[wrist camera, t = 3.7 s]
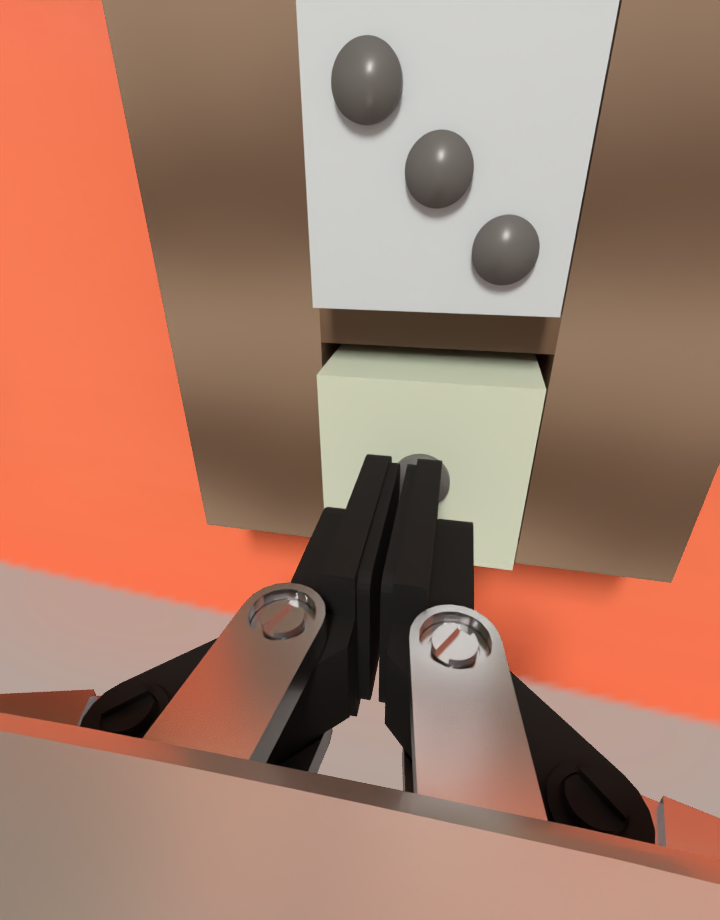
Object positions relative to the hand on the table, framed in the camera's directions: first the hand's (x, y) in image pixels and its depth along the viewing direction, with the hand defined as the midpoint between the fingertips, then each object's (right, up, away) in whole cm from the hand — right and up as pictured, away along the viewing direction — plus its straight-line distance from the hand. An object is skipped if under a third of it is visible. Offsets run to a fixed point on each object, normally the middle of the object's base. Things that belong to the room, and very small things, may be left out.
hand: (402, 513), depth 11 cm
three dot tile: (+1, +8, 0) cm, 8 cm away
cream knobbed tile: (+1, +2, +3) cm, 4 cm away
